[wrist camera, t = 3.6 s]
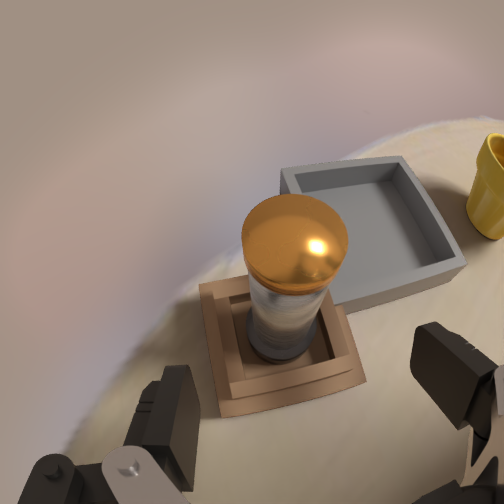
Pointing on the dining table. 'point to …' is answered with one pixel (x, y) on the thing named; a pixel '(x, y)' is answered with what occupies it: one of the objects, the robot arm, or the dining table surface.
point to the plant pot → (488, 189)
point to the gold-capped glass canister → (289, 272)
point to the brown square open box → (263, 373)
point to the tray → (380, 229)
